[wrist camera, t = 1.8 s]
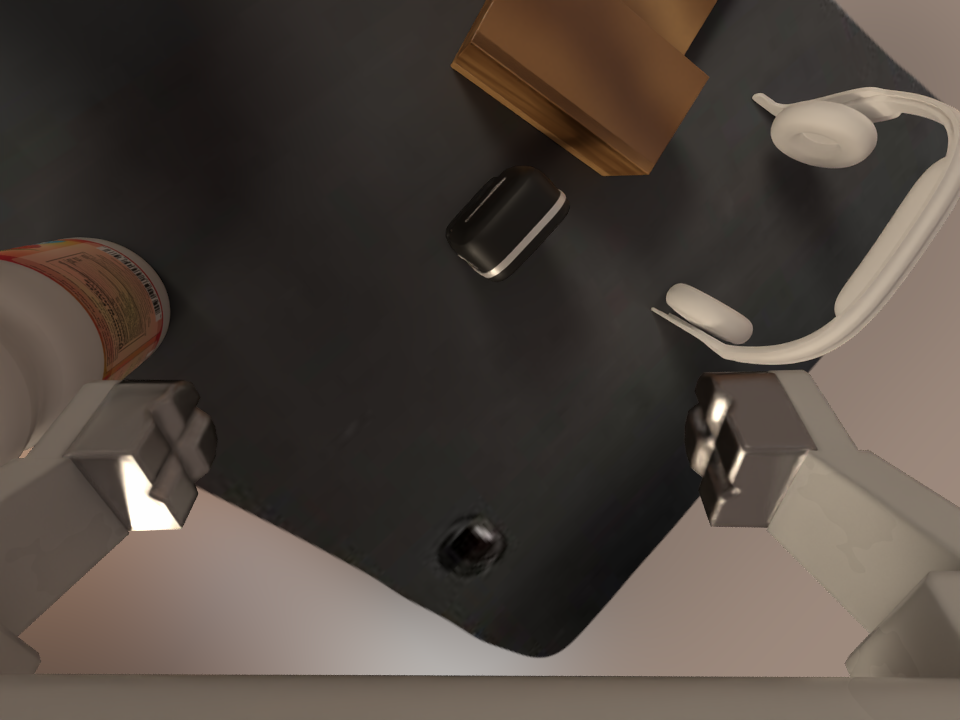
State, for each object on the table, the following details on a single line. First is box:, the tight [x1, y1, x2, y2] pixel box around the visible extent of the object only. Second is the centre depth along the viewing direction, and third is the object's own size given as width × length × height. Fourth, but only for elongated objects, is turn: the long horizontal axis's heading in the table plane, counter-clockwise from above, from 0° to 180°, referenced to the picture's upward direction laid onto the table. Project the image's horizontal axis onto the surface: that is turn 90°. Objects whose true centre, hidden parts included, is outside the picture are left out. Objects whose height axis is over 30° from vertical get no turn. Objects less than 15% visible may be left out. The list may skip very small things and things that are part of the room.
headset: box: [651, 87, 960, 365], centre depth 39 cm, size 20×7×18 cm, turn 150°
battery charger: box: [446, 166, 570, 282], centre depth 38 cm, size 7×4×11 cm, turn 136°
